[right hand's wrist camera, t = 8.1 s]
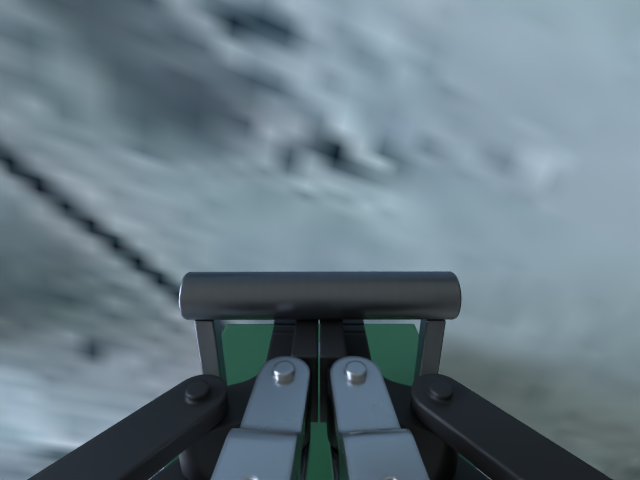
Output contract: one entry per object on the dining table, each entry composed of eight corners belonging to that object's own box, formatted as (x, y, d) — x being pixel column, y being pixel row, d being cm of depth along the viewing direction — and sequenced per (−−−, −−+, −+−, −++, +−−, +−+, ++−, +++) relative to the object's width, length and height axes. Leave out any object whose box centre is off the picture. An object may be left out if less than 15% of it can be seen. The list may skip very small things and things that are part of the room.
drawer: (214, 215, 16) (93, 336, 7) (426, 215, 16) (546, 335, 7) (249, 524, 24) (210, 755, 15) (392, 524, 24) (432, 755, 15)
